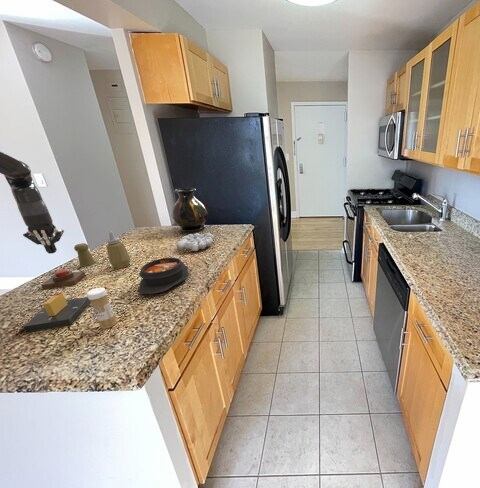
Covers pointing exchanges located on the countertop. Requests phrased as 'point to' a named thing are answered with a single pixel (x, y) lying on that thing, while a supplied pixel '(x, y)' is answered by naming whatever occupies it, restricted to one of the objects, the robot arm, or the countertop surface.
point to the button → (61, 273)
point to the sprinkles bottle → (102, 307)
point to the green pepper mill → (84, 255)
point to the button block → (63, 280)
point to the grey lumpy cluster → (195, 241)
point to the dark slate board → (58, 316)
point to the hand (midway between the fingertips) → (52, 252)
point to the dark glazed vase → (189, 211)
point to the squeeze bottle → (117, 252)
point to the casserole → (162, 275)
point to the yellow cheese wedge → (55, 304)
